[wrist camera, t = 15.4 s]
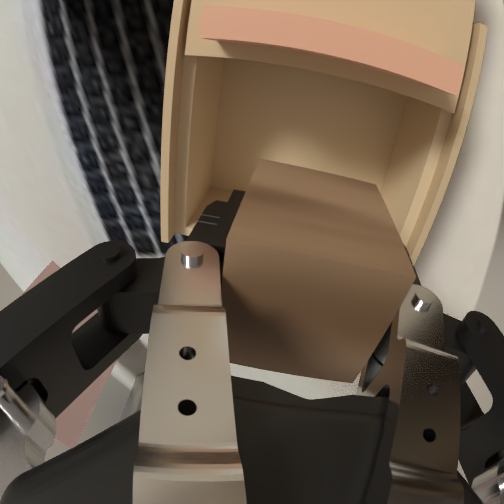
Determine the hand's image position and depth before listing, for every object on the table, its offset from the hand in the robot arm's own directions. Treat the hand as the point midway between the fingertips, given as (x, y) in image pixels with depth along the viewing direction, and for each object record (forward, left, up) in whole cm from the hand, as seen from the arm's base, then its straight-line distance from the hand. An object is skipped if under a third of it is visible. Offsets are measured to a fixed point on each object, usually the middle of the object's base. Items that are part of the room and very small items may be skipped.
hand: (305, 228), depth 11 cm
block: (0, 0, 0) cm, 0 cm away
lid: (+12, 0, -4) cm, 13 cm away
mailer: (+3, 0, -10) cm, 11 cm away
